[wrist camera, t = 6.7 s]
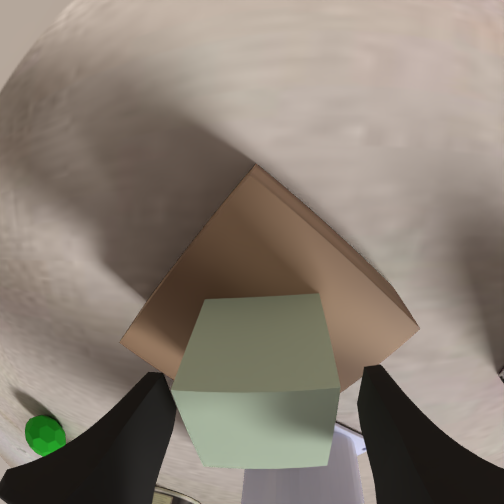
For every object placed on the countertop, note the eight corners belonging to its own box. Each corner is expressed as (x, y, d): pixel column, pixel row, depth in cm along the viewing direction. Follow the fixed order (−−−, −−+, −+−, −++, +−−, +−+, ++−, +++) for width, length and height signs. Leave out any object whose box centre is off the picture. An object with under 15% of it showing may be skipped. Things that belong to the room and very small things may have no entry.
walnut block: (275, 387, 19) (273, 434, 15) (146, 301, 17) (119, 342, 14) (393, 287, 16) (420, 328, 12) (256, 163, 14) (249, 174, 10)
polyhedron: (64, 416, 24) (46, 448, 20) (77, 440, 26) (62, 470, 21) (30, 401, 24) (11, 429, 20) (45, 426, 26) (29, 453, 22)
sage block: (316, 375, 13) (327, 465, 9) (221, 378, 14) (203, 466, 9) (319, 293, 12) (340, 387, 7) (205, 299, 12) (170, 390, 8)
